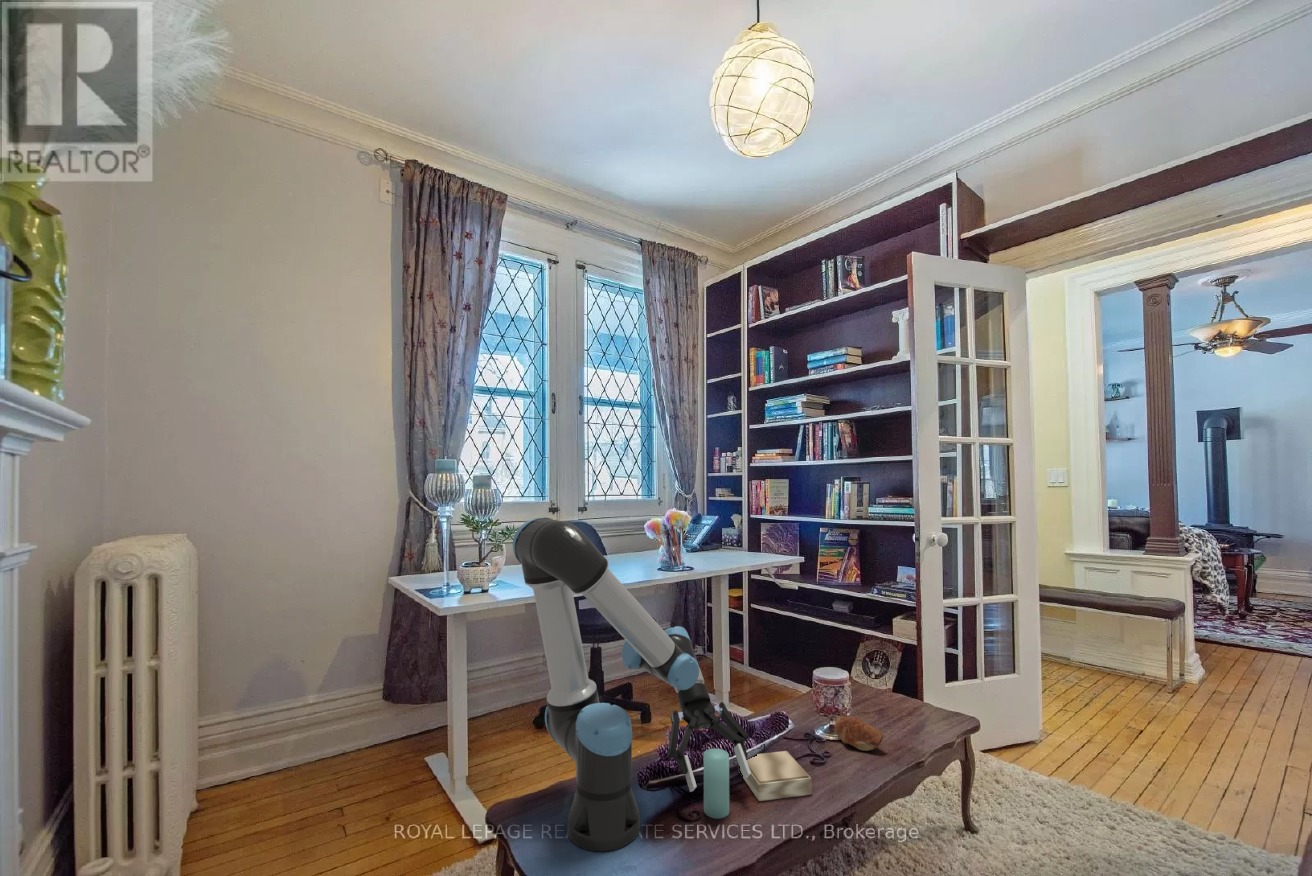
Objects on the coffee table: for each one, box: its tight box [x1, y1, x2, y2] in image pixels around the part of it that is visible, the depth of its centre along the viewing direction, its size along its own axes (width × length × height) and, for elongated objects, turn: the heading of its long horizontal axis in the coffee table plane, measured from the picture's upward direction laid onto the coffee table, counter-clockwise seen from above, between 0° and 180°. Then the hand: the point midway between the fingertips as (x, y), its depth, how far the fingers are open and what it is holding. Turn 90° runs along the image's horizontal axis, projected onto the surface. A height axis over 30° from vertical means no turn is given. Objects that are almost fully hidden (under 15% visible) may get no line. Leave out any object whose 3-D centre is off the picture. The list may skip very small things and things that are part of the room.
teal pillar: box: [703, 748, 730, 820], centre depth 125 cm, size 6×6×12 cm
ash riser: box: [740, 750, 813, 802], centre depth 136 cm, size 13×13×4 cm
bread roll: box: [834, 715, 885, 752], centre depth 156 cm, size 13×8×10 cm
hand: (721, 782), depth 125 cm, fingers open, 13 cm apart
